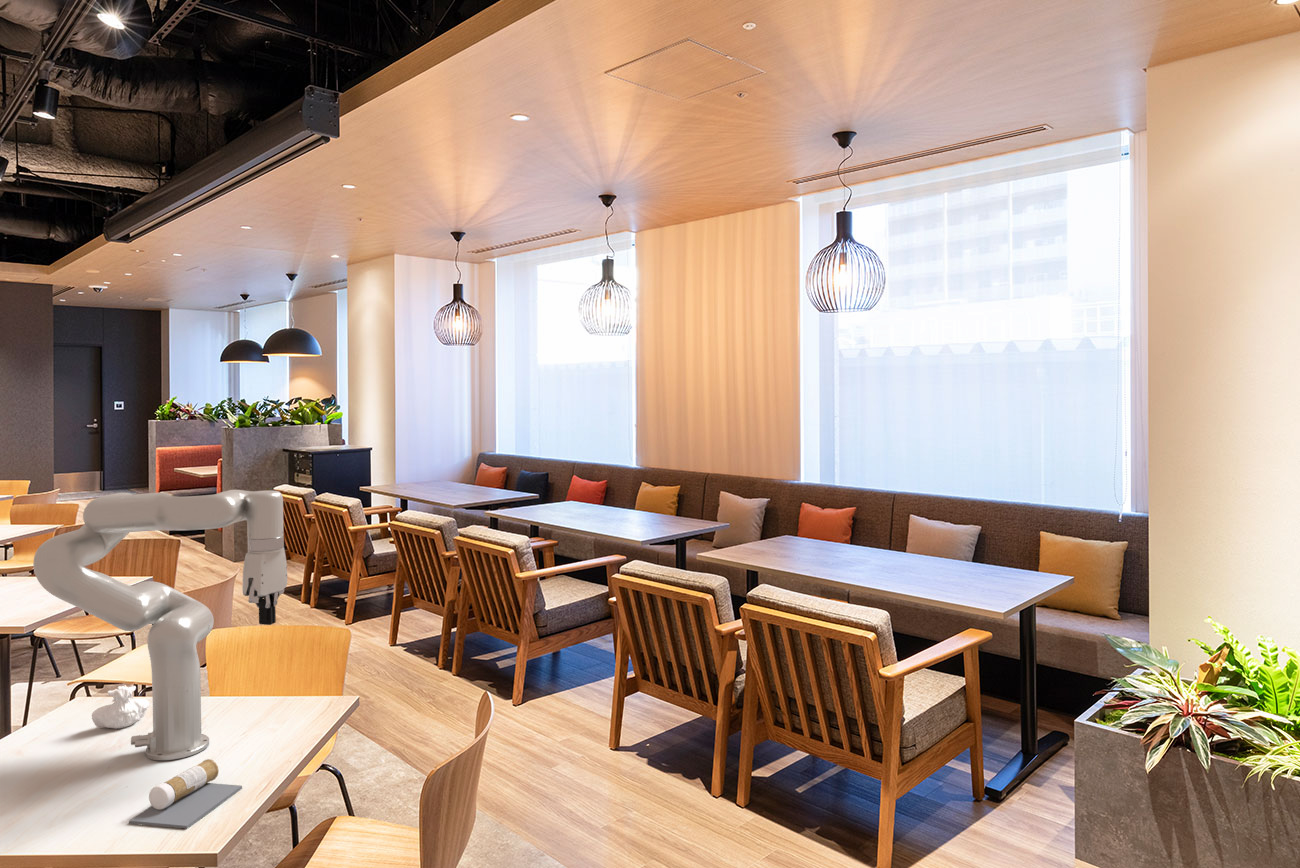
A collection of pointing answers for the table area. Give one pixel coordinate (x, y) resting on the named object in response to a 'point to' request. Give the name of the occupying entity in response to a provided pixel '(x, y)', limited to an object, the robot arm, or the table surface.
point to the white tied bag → (120, 709)
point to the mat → (188, 807)
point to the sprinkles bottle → (183, 784)
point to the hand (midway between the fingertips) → (267, 623)
